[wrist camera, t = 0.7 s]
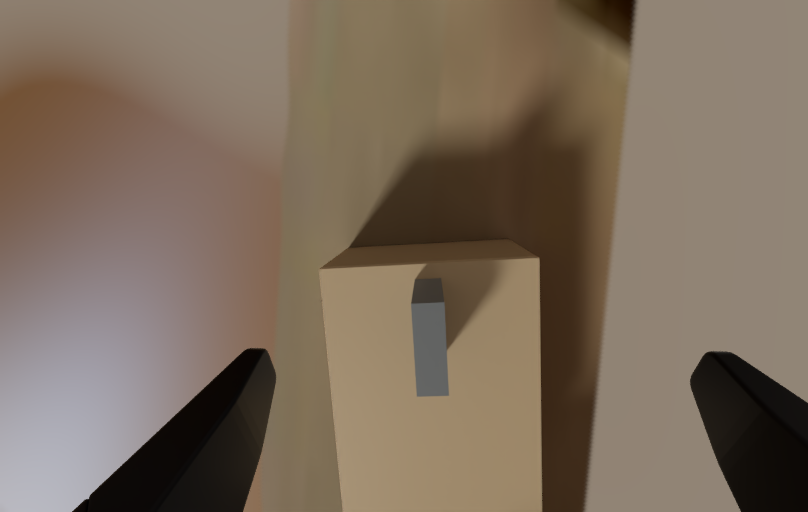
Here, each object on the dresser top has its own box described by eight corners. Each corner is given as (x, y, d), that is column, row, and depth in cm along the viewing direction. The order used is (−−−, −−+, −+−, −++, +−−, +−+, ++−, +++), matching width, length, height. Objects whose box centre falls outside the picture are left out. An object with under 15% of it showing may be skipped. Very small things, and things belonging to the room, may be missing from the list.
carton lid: (539, 523, 21) (569, 617, 16) (347, 525, 22) (325, 614, 17) (535, 255, 19) (570, 277, 14) (322, 266, 19) (289, 290, 15)
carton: (513, 445, 27) (538, 523, 21) (366, 448, 28) (347, 524, 22) (508, 238, 25) (535, 255, 19) (348, 247, 26) (322, 266, 19)
